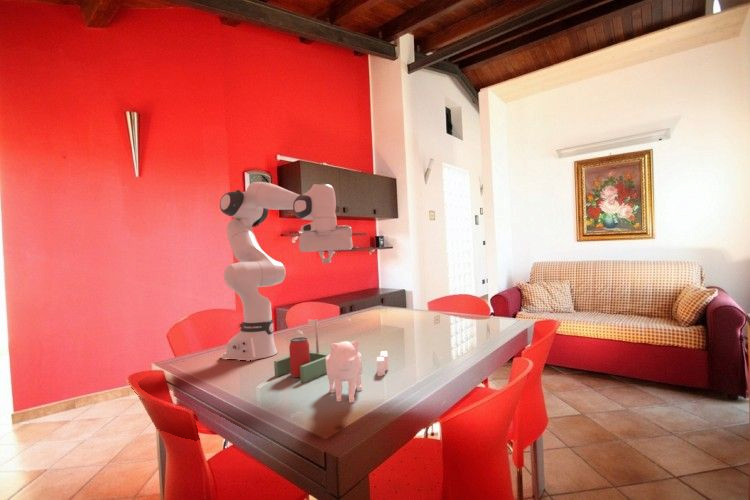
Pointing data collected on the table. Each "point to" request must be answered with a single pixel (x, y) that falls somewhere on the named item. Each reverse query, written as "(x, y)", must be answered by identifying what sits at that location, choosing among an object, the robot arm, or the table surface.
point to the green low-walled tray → (307, 370)
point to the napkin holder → (382, 363)
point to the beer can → (298, 355)
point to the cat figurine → (344, 368)
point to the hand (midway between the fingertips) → (326, 263)
